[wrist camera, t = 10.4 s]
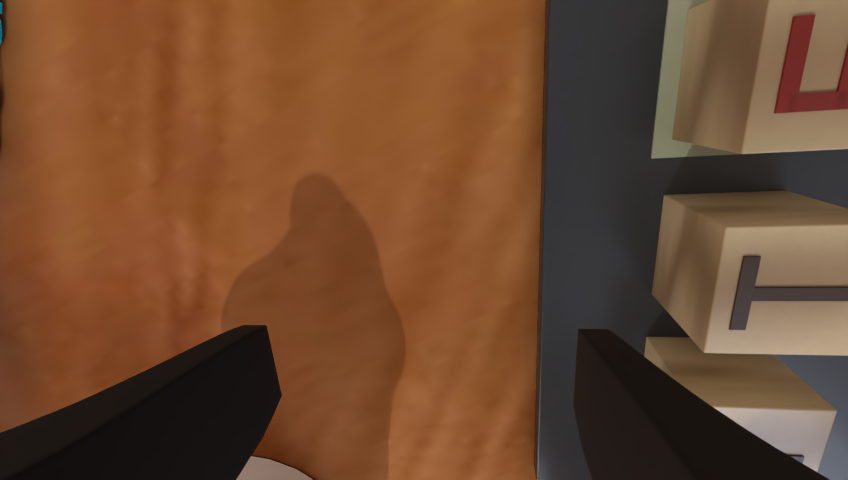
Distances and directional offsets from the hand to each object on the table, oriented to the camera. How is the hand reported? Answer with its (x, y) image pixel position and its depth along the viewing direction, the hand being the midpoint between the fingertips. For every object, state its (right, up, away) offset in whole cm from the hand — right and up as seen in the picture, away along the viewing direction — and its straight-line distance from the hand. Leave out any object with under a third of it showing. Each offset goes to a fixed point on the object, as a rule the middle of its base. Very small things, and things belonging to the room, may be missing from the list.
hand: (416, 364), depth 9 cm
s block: (+11, +8, +4) cm, 15 cm away
